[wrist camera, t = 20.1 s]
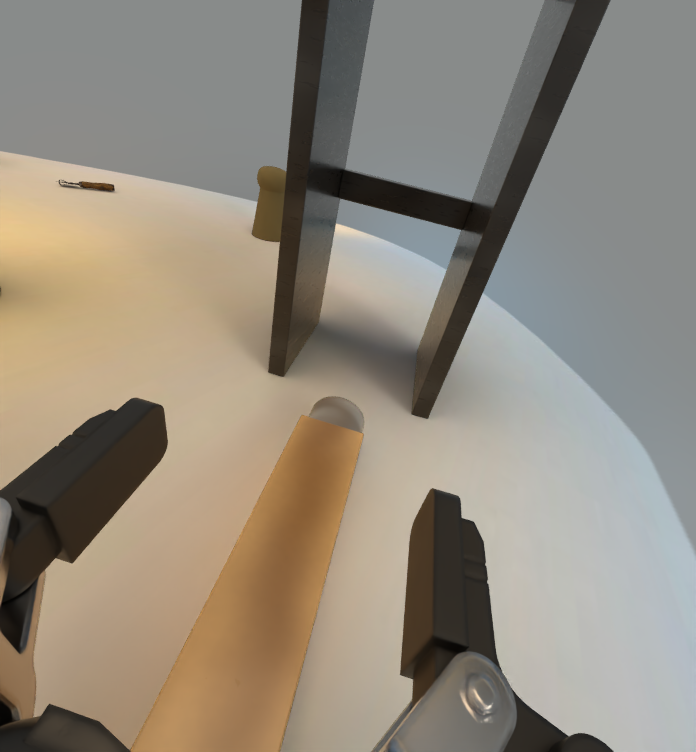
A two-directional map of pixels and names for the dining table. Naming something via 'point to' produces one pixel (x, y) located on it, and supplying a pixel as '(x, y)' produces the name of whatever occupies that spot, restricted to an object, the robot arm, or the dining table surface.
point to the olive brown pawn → (269, 203)
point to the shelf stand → (333, 182)
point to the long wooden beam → (262, 601)
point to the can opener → (94, 185)
